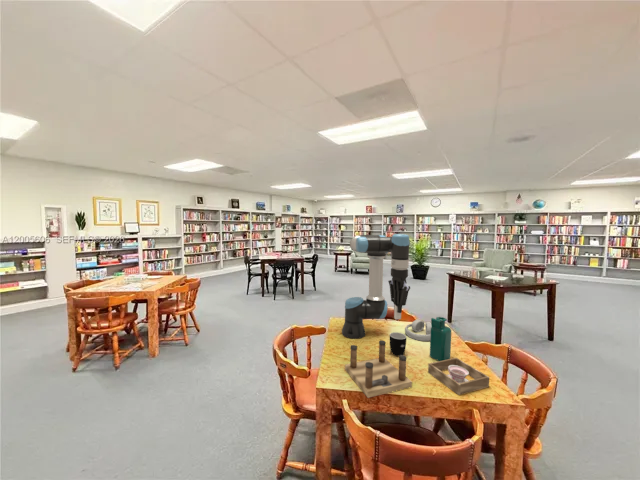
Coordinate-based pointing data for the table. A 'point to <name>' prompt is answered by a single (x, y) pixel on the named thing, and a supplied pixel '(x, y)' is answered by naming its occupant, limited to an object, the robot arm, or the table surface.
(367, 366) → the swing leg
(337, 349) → the table surface
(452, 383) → the cup coaster tray
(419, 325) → the headphones
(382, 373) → the stool top
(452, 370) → the teacup
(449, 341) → the green bottle
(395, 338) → the mug
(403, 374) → the loose leg
